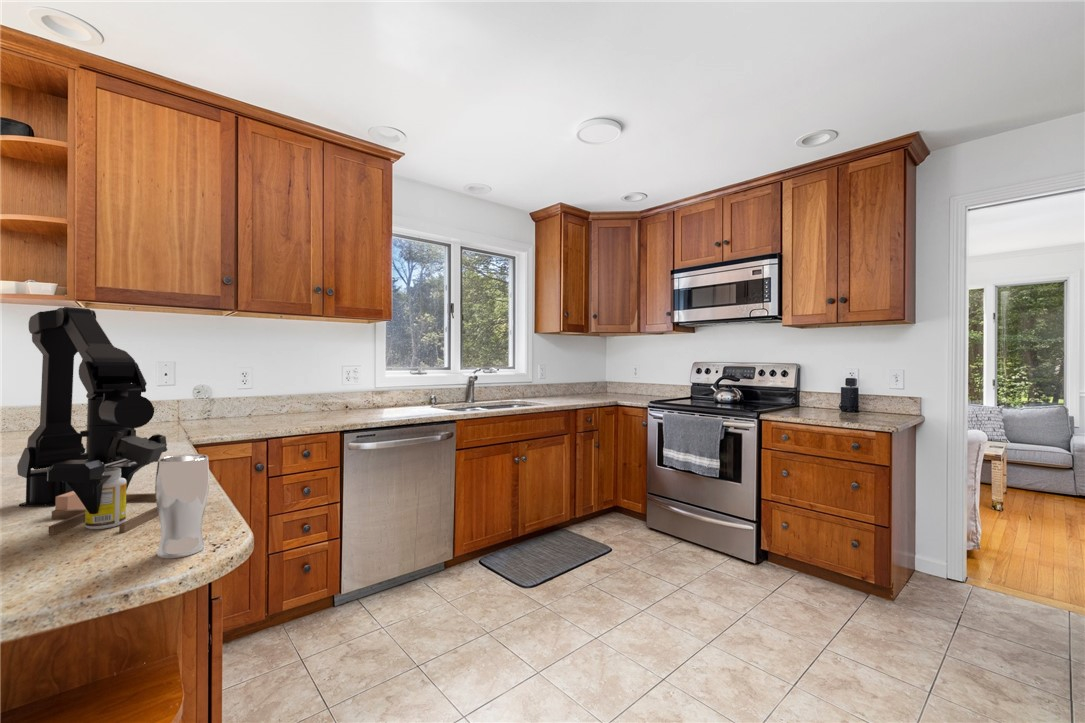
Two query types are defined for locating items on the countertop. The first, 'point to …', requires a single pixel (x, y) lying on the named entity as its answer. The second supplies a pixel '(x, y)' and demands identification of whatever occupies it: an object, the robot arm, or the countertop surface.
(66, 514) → the walnut track
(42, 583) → the countertop surface
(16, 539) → the countertop surface
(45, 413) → the robot arm
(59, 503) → the stop block
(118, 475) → the supplement bottle
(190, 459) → the beer glass
